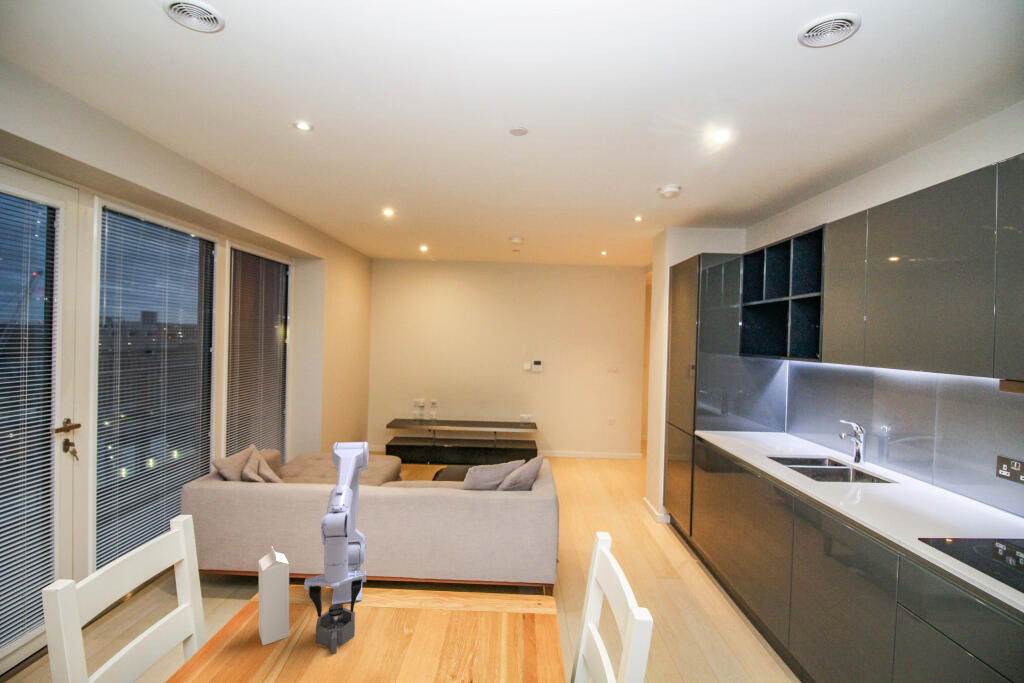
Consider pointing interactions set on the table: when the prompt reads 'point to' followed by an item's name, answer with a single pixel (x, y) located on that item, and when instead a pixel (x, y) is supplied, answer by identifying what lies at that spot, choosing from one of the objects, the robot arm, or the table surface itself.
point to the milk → (273, 597)
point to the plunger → (335, 616)
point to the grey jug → (335, 630)
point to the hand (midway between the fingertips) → (336, 611)
